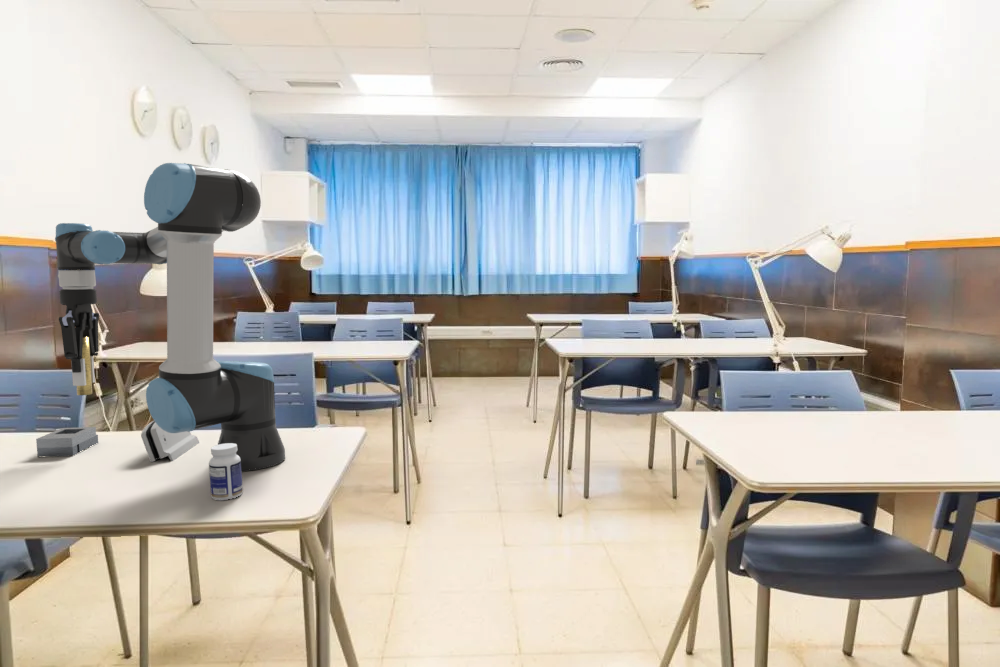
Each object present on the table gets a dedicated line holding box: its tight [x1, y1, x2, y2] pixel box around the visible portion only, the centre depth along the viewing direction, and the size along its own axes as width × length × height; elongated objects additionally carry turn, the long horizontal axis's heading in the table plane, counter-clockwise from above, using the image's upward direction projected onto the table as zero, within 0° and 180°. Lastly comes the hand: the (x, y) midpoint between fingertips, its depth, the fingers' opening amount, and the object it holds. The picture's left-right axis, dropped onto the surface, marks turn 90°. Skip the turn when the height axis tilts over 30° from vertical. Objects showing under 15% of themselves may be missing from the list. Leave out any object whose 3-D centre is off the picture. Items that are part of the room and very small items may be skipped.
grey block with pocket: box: [35, 426, 99, 457], centre depth 162 cm, size 12×8×4 cm
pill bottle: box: [208, 443, 244, 501], centre depth 127 cm, size 6×6×10 cm
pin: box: [76, 337, 93, 396], centre depth 160 cm, size 3×3×14 cm
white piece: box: [140, 420, 200, 462], centre depth 159 cm, size 17×5×10 cm, turn 4°
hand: (84, 383), depth 161 cm, fingers closed on pin, 3 cm apart
